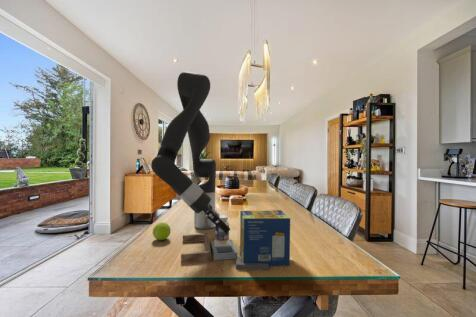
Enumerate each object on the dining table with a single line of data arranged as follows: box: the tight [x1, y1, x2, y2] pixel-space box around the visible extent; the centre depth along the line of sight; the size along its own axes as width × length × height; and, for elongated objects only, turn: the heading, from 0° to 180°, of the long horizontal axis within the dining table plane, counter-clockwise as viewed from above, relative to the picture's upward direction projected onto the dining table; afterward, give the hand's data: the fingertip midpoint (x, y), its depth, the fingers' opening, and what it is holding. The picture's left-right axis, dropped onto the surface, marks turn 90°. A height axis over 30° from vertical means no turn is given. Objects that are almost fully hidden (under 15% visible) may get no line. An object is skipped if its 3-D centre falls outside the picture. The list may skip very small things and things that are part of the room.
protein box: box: [239, 209, 291, 267], centre depth 79 cm, size 10×15×16 cm
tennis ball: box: [152, 222, 172, 241], centre depth 96 cm, size 7×7×7 cm
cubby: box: [180, 233, 212, 263], centre depth 86 cm, size 10×19×3 cm, turn 12°
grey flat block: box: [235, 257, 270, 271], centre depth 74 cm, size 10×5×2 cm, turn 87°
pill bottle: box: [214, 214, 230, 242], centre depth 87 cm, size 5×5×9 cm
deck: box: [210, 239, 239, 261], centre depth 84 cm, size 8×12×2 cm, turn 12°
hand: (226, 228), depth 88 cm, fingers closed on pill bottle, 5 cm apart
